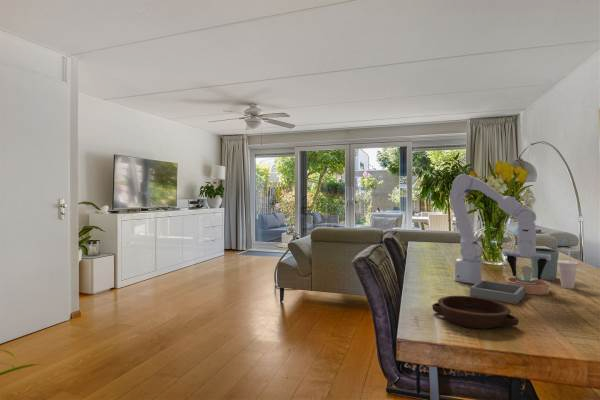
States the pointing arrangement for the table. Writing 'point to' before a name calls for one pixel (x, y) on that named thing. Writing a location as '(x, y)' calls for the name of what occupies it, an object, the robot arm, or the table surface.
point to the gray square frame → (498, 291)
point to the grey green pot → (550, 266)
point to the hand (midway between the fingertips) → (526, 277)
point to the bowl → (531, 286)
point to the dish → (474, 312)
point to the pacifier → (526, 276)
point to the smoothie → (567, 272)
